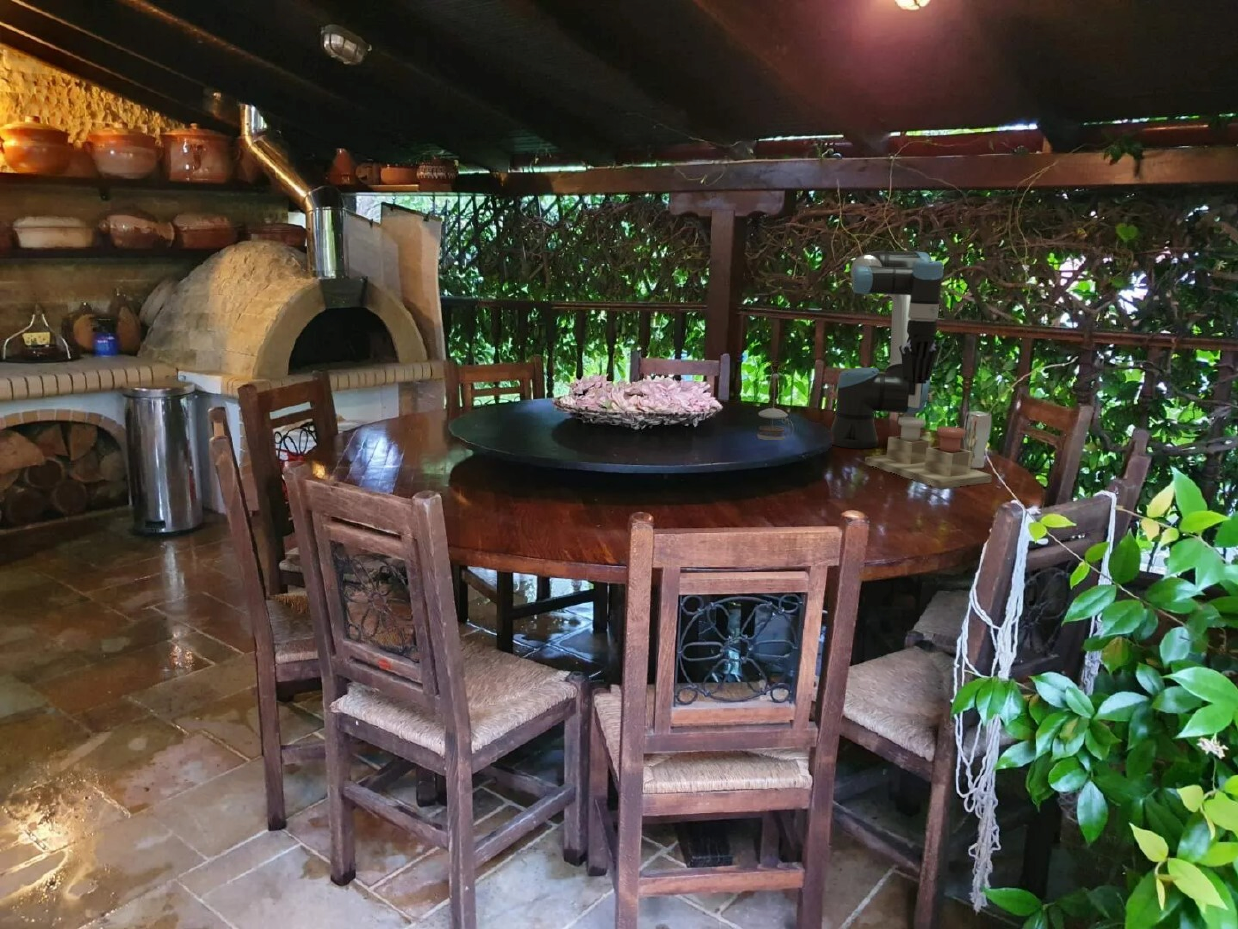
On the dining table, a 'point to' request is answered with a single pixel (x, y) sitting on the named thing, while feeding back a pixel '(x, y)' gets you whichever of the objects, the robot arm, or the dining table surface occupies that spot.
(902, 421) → the grey cylinder
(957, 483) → the stand
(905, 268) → the robot arm
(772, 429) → the french press
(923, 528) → the dining table surface
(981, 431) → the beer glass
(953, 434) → the brown rounded piece
